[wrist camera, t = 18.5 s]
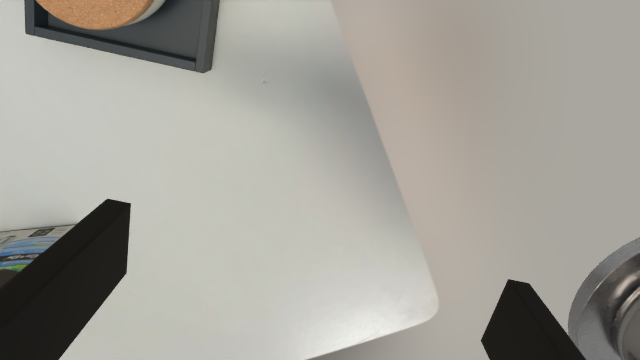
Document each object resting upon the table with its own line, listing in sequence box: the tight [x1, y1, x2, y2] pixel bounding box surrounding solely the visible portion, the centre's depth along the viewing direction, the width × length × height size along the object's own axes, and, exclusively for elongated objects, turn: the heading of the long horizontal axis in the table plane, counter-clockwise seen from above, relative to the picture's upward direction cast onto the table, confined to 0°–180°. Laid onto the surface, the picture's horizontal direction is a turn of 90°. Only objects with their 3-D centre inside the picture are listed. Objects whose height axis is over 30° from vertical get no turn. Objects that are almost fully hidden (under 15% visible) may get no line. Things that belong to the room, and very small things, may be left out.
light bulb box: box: [0, 225, 75, 271], centre depth 43 cm, size 11×7×11 cm, turn 97°
